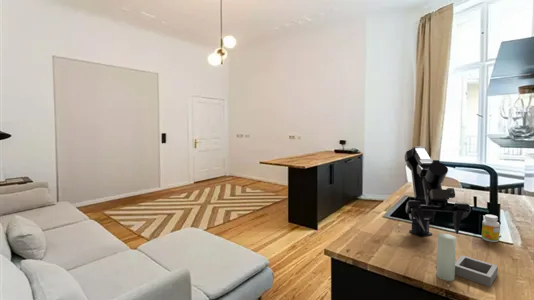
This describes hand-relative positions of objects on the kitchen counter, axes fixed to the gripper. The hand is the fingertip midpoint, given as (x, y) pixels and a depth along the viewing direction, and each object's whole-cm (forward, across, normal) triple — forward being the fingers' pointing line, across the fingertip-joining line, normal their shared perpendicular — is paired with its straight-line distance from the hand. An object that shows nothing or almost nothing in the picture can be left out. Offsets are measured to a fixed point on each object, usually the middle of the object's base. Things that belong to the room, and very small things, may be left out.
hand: (441, 232), depth 90 cm
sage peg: (+13, 0, +4) cm, 13 cm away
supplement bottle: (-12, +25, +29) cm, 40 cm away
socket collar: (+10, +9, +7) cm, 15 cm away
